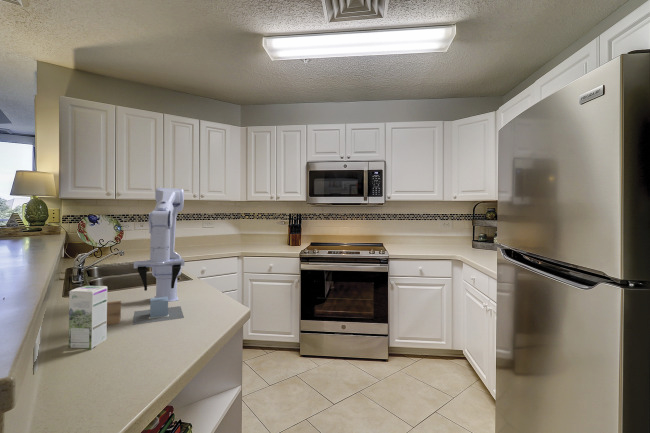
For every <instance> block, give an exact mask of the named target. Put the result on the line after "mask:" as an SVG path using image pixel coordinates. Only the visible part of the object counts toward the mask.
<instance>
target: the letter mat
mask: <svg viewBox="0 0 650 433" xmlns="http://www.w3.org/2000/svg"><path fill="white" fill-rule="evenodd" d="M184 318H185V315H184V313H183V310H182V307H181V306H179V305H178V306H171V307H170V306H168V316H163V317H155V318H150V309H145V310H137V311H134V313H133V320H132V325H133V326H135V325H141V324H142V325H143V324H150V323H151V324H152V323H157V322H164V321H172V320H179V319H184Z"/></svg>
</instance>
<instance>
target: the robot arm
mask: <svg viewBox="0 0 650 433" xmlns="http://www.w3.org/2000/svg"><path fill="white" fill-rule="evenodd" d="M154 193H155V198H154V199H155V202H156V204H155V207H154V209H153V210H152V211H151V212H149V213H148V227H149V232H148V233H149V234H150V240H149V241H150V242H149V247H150V248H149V260H148V259H147V260H137V261H133V269H137V272H138V275H139V277H140V279H141V281H142V284H143V288H144V292H145V291H146V292H147V291H148V280H147V276H148V275H147V274H148V273H147V272H148V271H147V270H148V268H151V276H152V277H155V279H156V280H155V285H156V286H155V287H156V288H155V296H154V298H160V297H168V303H169V302H178V301H179V297H178V277H179V276H181V274H182V268H183V266H185V259H184V258H182V256H181V255H180V254H179V253H177V252H176V251H175V246H176V245H175V243H176V224H177V217H178V214H179V212H182V211H183V209H184V204H185V203H184V202H185V190H184V189H183V188H173V187H171V188H169V187H160V186H159V187H156V188H155V192H154Z"/></svg>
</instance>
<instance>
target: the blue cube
mask: <svg viewBox="0 0 650 433" xmlns="http://www.w3.org/2000/svg"><path fill="white" fill-rule="evenodd" d="M149 305H150V307H149V308H150V309H149V310H150V318H155V317H163V316H168V308H169V302H168V297H160V298H155V297H152V298H150V304H149Z"/></svg>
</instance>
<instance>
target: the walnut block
mask: <svg viewBox="0 0 650 433" xmlns="http://www.w3.org/2000/svg"><path fill="white" fill-rule="evenodd" d="M121 318H122V300H115V301H107V326H109V325H111V326H112V325H118V324H120V322H121Z"/></svg>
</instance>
